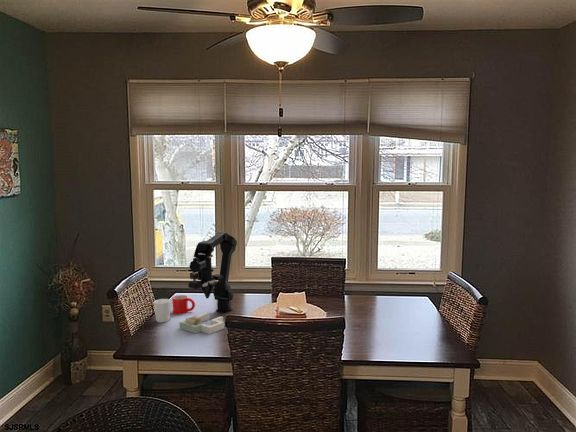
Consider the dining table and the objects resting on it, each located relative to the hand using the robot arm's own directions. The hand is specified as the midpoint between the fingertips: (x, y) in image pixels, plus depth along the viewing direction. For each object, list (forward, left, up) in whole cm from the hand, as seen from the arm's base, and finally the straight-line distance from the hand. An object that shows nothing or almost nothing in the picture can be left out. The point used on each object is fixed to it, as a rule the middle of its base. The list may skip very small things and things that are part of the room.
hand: (207, 298), depth 244 cm
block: (+11, +2, -12) cm, 16 cm away
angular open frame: (+6, +5, -12) cm, 14 cm away
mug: (-2, -22, -12) cm, 25 cm away
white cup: (+13, -20, -12) cm, 26 cm away
